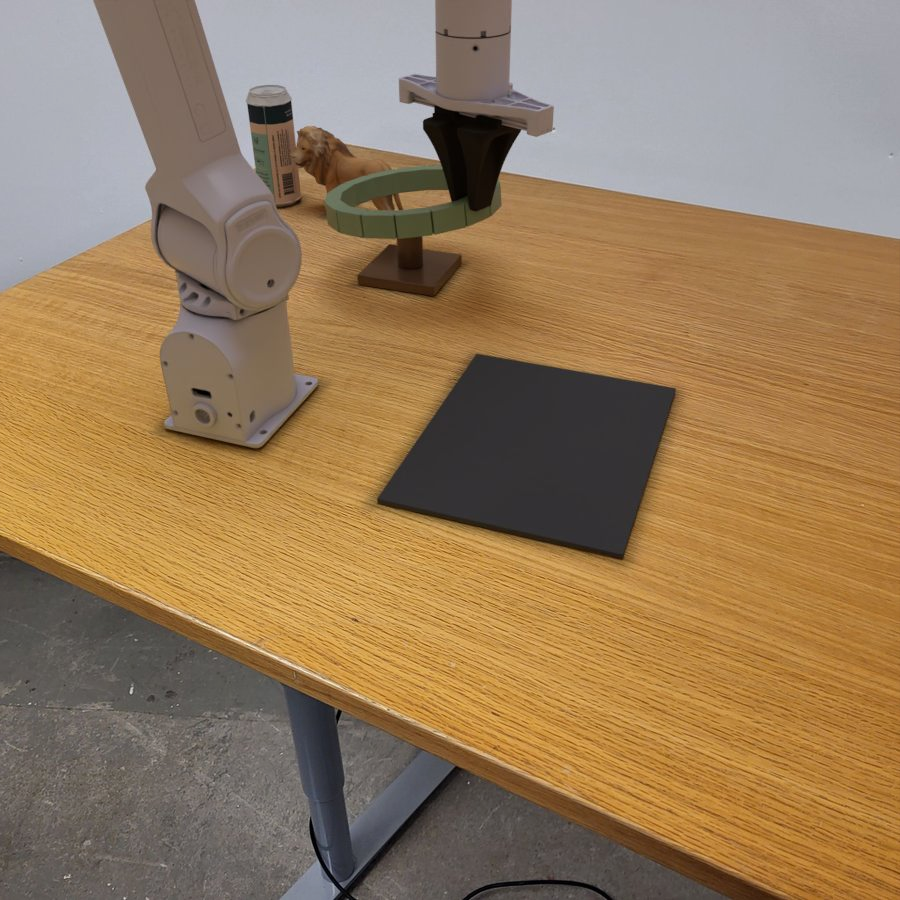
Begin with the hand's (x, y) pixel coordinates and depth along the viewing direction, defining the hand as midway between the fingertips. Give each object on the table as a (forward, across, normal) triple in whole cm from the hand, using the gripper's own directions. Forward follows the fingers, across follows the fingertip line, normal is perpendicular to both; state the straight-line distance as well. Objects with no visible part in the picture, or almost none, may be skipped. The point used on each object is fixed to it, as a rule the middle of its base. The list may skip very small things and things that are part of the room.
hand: (471, 204), depth 78 cm
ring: (+2, +7, 0) cm, 7 cm away
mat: (+9, -18, +13) cm, 24 cm away
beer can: (+9, +33, -5) cm, 34 cm away
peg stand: (+9, +8, -1) cm, 12 cm away
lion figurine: (+9, +23, -7) cm, 25 cm away
